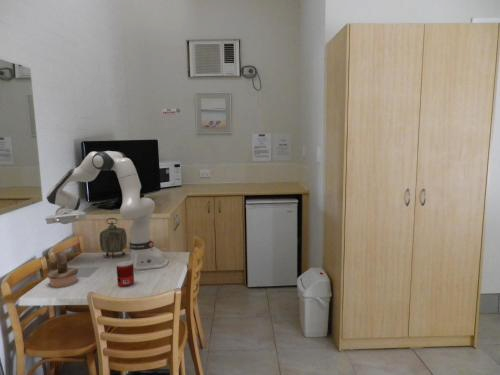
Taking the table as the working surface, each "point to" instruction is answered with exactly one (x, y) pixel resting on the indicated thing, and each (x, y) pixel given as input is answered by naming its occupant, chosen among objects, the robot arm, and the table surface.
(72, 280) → the bowl
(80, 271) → the mat
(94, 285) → the table surface
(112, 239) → the tabletop clock
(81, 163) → the robot arm
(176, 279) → the table surface
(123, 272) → the canned food
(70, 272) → the lid
